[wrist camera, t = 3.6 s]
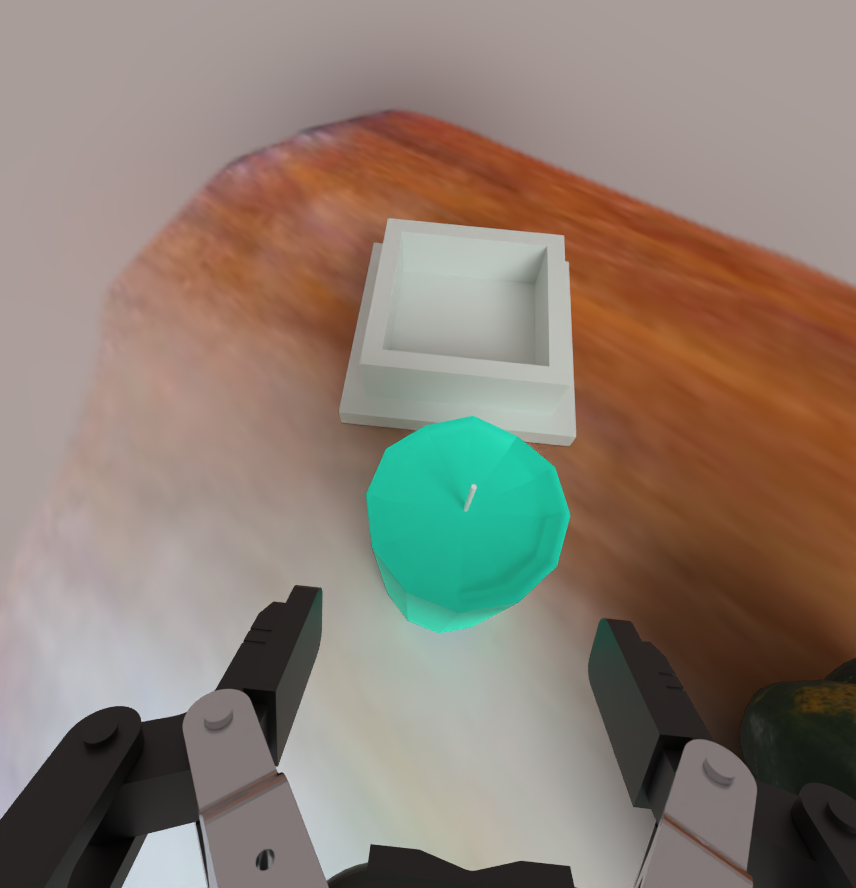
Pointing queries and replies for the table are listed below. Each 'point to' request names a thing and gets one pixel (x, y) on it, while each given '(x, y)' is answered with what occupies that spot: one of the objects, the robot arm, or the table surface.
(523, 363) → the candle stand
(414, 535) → the candle
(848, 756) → the squash
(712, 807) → the robot arm
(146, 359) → the table surface
